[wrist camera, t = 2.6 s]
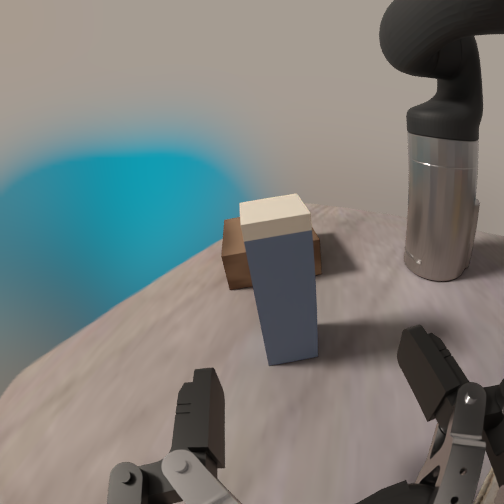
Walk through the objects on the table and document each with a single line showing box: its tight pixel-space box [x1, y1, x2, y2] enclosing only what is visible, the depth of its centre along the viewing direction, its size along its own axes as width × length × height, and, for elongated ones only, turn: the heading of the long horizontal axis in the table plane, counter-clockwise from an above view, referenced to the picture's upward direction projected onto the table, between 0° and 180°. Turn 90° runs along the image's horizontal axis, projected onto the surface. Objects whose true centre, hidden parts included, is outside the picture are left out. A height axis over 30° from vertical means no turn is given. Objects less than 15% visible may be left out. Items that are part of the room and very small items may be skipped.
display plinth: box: [221, 217, 321, 290], centre depth 41 cm, size 12×12×5 cm
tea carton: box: [240, 194, 318, 366], centre depth 24 cm, size 5×5×14 cm
